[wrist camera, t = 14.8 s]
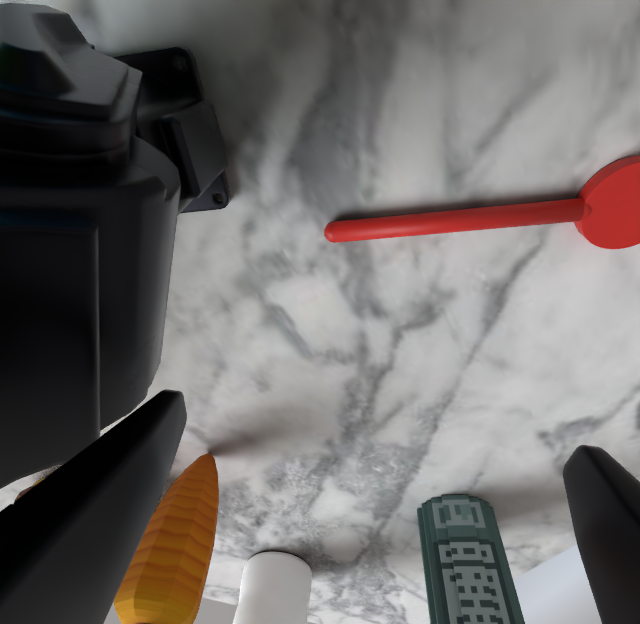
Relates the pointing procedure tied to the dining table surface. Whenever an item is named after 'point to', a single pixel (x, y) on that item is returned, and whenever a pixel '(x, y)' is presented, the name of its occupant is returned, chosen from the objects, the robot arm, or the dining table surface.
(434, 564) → the can
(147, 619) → the carrot
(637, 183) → the spoon
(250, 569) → the water bottle
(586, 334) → the dining table surface
